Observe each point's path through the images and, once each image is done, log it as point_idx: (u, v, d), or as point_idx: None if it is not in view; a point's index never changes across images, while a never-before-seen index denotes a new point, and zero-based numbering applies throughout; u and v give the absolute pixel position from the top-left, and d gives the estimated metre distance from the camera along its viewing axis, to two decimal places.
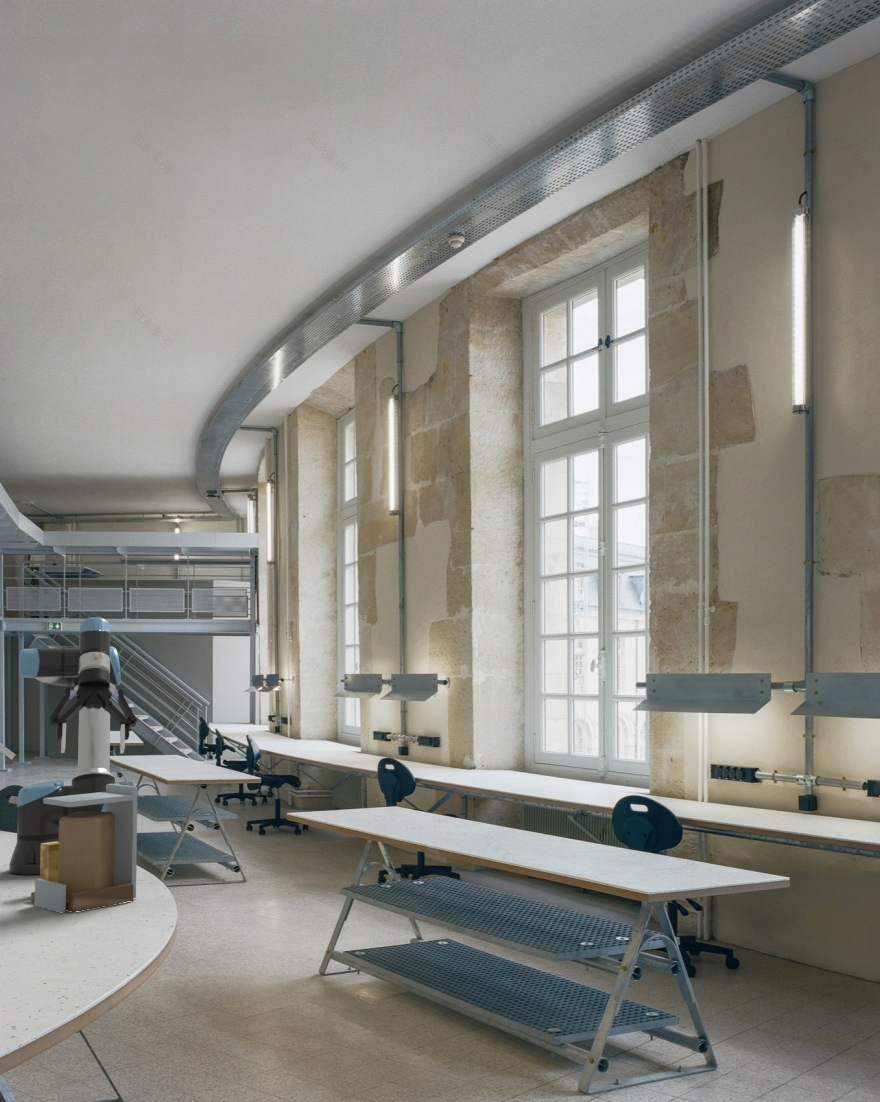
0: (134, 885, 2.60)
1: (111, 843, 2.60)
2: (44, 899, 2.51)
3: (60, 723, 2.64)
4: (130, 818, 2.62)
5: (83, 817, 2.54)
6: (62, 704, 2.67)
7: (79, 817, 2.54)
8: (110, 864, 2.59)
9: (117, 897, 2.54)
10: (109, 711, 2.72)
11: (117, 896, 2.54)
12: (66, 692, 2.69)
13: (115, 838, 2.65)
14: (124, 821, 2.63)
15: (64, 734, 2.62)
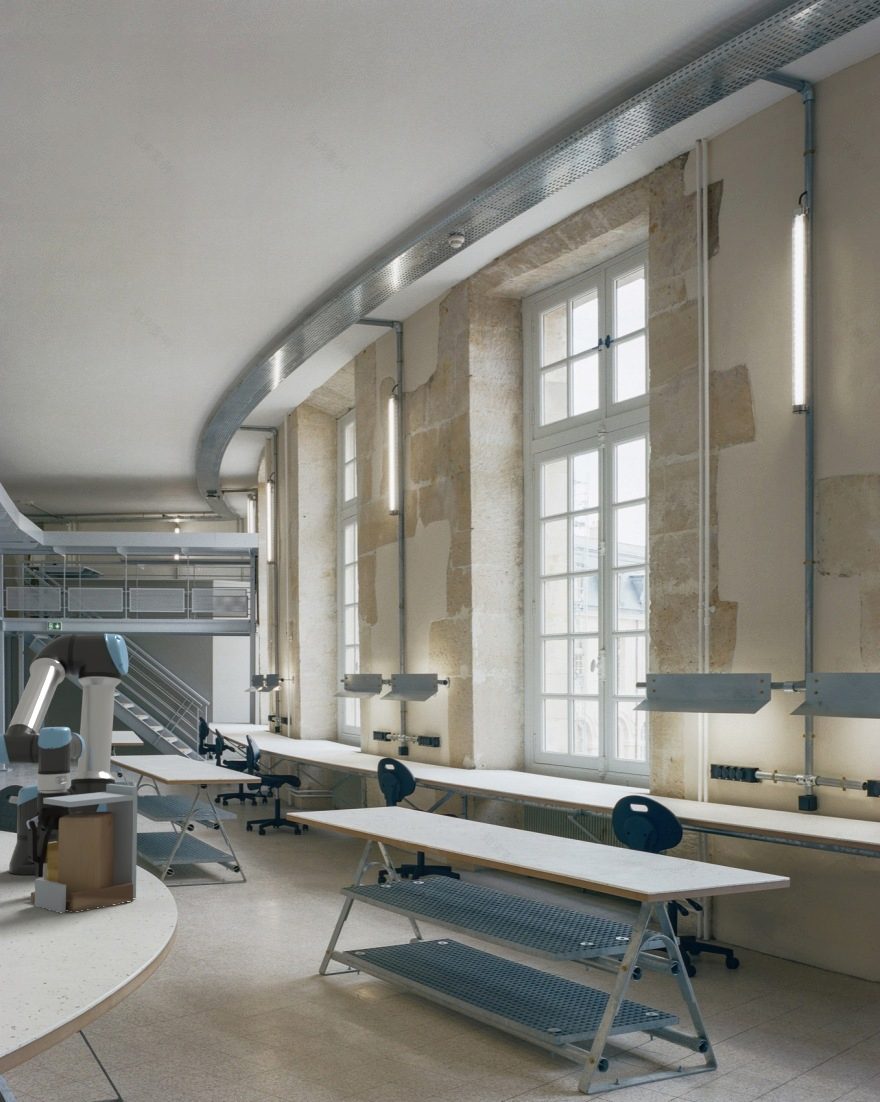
0: (134, 885, 2.60)
1: (110, 843, 2.60)
2: (44, 899, 2.51)
3: (42, 863, 2.65)
4: (130, 818, 2.62)
5: (83, 817, 2.54)
6: (35, 840, 2.64)
7: (79, 817, 2.55)
8: (109, 863, 2.59)
9: (117, 897, 2.54)
10: (58, 836, 2.70)
11: (117, 896, 2.54)
12: (32, 826, 2.64)
13: (115, 838, 2.65)
14: (124, 821, 2.63)
15: (45, 876, 2.65)
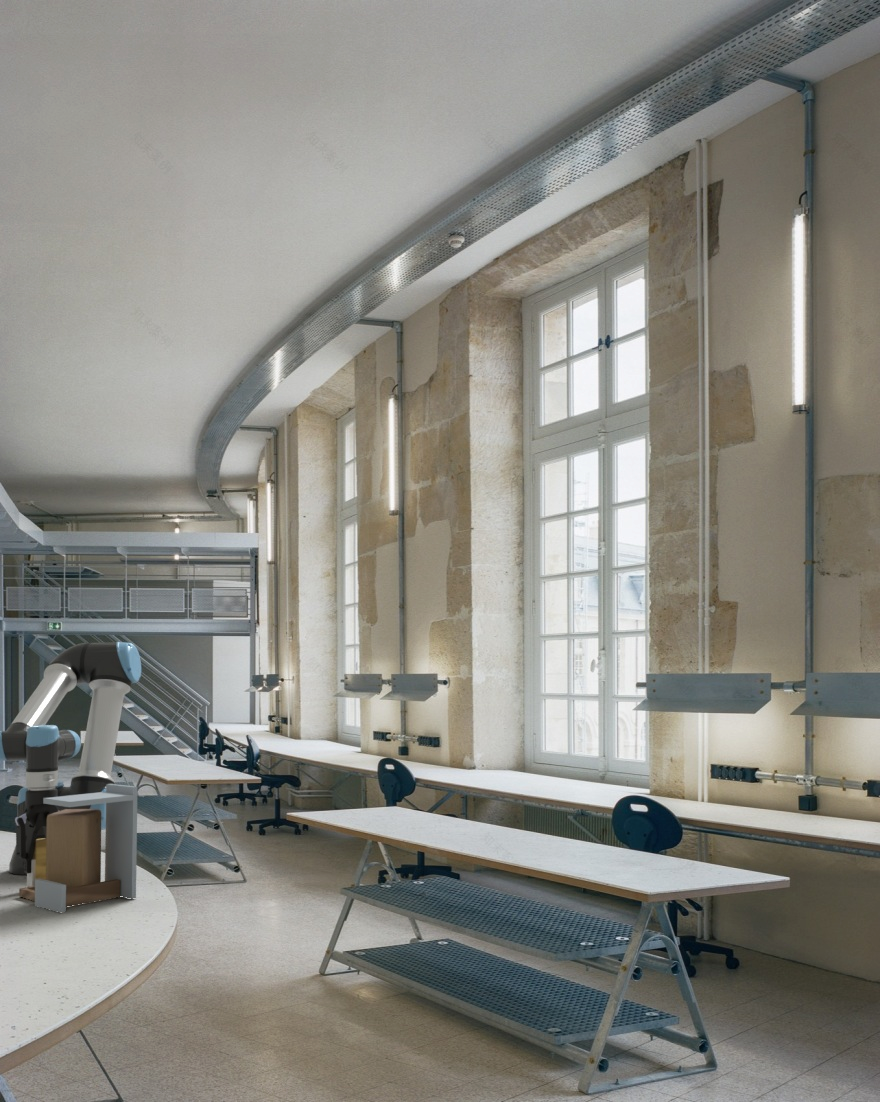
0: (134, 885, 2.60)
1: (98, 840, 2.64)
2: (44, 899, 2.51)
3: (31, 859, 2.70)
4: (130, 818, 2.62)
5: (70, 814, 2.59)
6: (24, 837, 2.69)
7: (66, 814, 2.59)
8: (97, 860, 2.64)
9: (104, 893, 2.59)
10: None
11: (104, 892, 2.59)
12: (20, 823, 2.68)
13: (115, 838, 2.65)
14: (124, 821, 2.63)
15: (34, 872, 2.70)
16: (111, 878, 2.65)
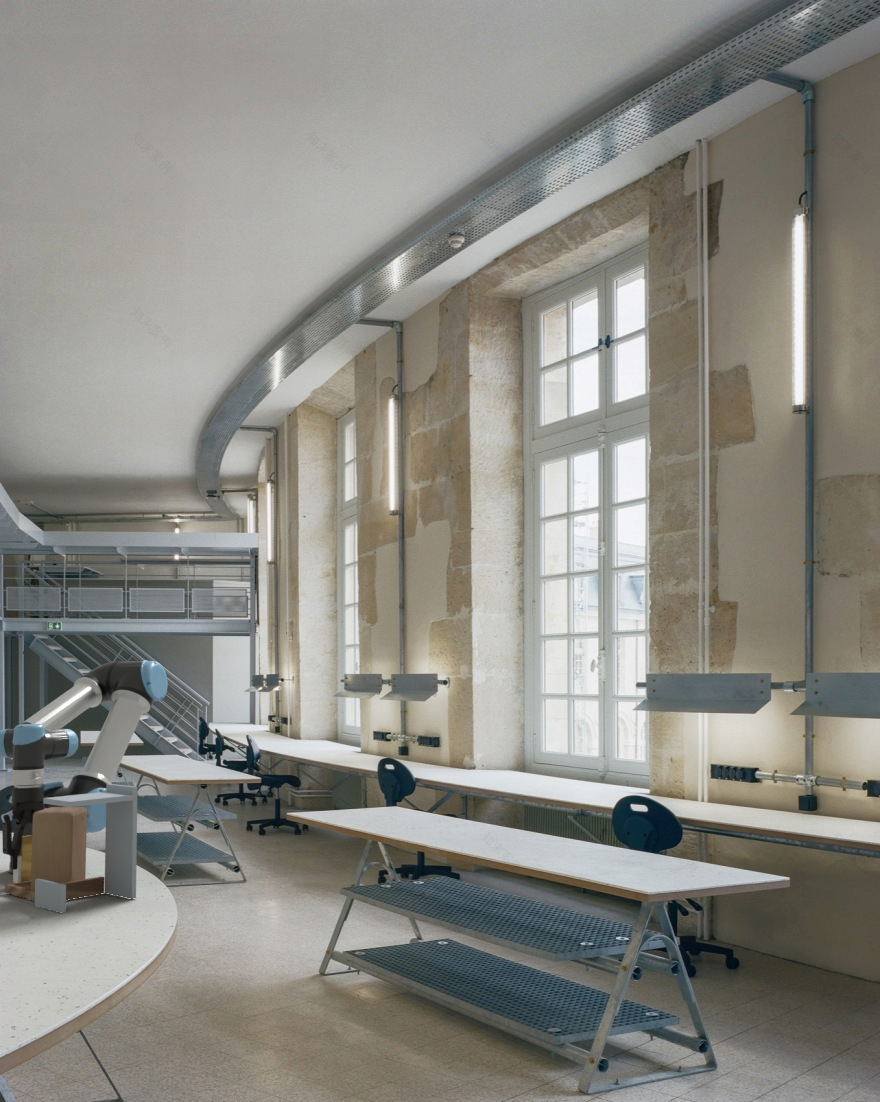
0: (134, 885, 2.60)
1: (83, 837, 2.69)
2: (44, 899, 2.51)
3: (17, 855, 2.74)
4: (130, 818, 2.62)
5: (56, 812, 2.63)
6: (10, 834, 2.73)
7: (52, 812, 2.64)
8: (82, 857, 2.68)
9: (88, 889, 2.63)
10: None
11: (89, 889, 2.63)
12: (7, 820, 2.73)
13: (115, 838, 2.65)
14: (124, 821, 2.63)
15: (20, 868, 2.74)
16: (111, 878, 2.65)
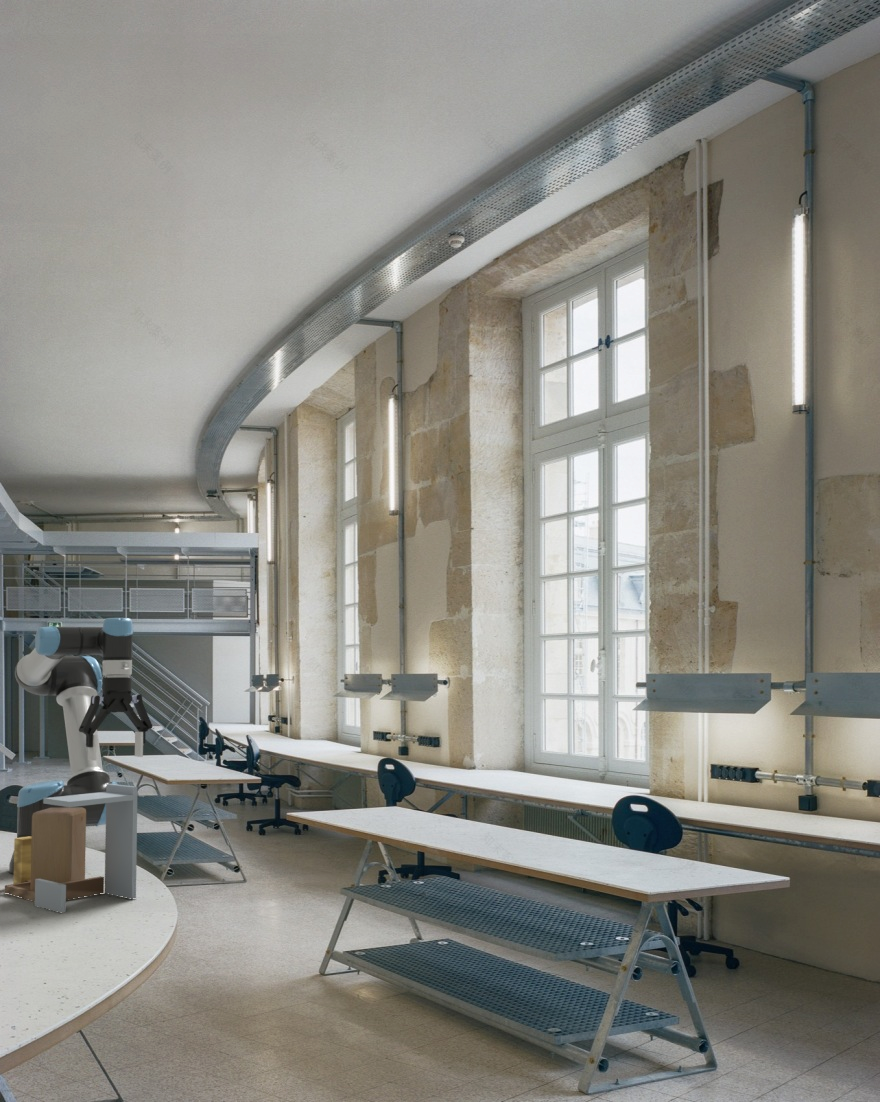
0: (134, 885, 2.60)
1: (82, 838, 2.69)
2: (44, 899, 2.51)
3: (91, 734, 2.83)
4: (130, 818, 2.62)
5: (55, 812, 2.64)
6: (93, 714, 2.84)
7: (51, 812, 2.64)
8: (81, 857, 2.68)
9: (88, 889, 2.63)
10: (128, 715, 2.93)
11: (88, 889, 2.64)
12: (96, 701, 2.85)
13: (115, 838, 2.65)
14: (124, 821, 2.63)
15: (95, 746, 2.83)
16: (111, 878, 2.65)
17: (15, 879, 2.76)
